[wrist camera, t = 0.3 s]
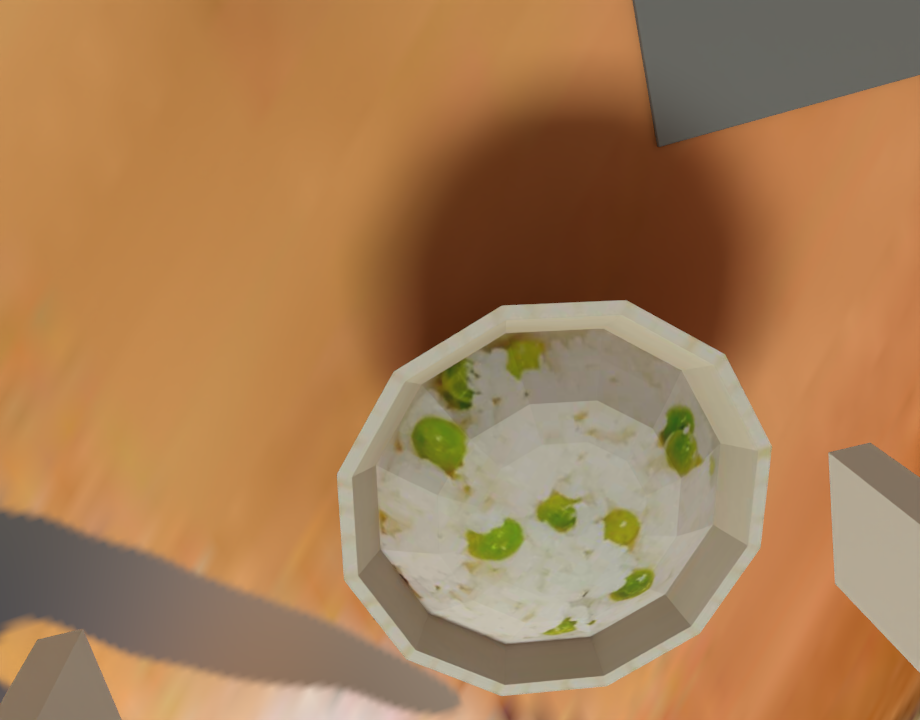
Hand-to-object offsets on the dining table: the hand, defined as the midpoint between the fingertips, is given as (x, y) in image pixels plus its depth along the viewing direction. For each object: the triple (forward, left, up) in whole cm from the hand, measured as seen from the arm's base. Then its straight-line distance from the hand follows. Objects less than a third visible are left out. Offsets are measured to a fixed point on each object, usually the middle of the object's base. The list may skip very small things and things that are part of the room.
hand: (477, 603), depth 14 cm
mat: (-7, +21, -28) cm, 35 cm away
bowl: (+10, +4, -28) cm, 30 cm away
